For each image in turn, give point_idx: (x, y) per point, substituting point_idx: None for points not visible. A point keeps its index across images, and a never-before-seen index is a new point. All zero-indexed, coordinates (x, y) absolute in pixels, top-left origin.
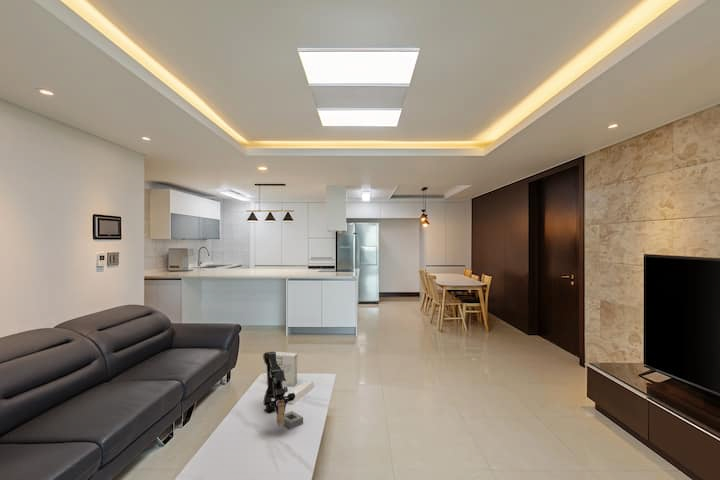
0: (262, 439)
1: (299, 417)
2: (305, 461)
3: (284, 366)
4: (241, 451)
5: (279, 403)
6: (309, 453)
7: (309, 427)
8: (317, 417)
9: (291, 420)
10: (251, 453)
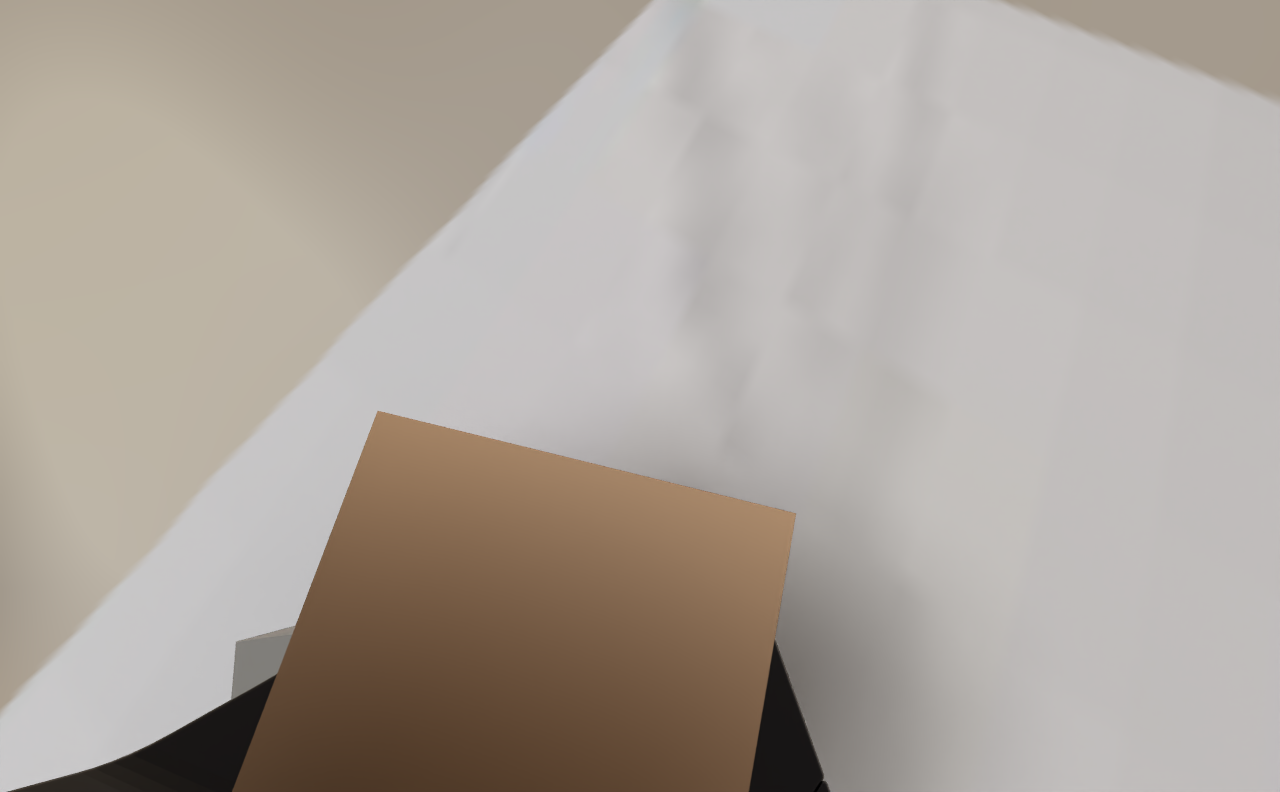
0: (919, 591)
1: (275, 674)
2: (677, 18)
3: None
4: (1263, 484)
5: (652, 701)
6: (593, 89)
7: (322, 482)
8: (105, 640)
9: None
10: (1131, 370)
